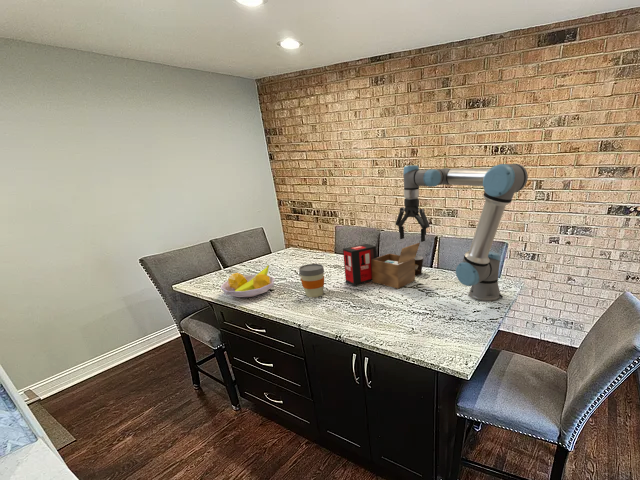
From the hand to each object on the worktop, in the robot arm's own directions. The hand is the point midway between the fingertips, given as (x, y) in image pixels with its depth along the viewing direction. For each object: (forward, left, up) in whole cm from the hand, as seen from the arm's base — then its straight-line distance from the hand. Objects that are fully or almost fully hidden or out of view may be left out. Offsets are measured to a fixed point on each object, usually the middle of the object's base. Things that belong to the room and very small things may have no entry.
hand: (412, 240), depth 178 cm
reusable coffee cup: (+35, +40, -26) cm, 60 cm away
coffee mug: (+12, -19, -26) cm, 35 cm away
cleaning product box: (+29, +10, -26) cm, 41 cm away
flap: (+3, 0, -7) cm, 8 cm away
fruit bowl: (+66, +58, -26) cm, 92 cm away
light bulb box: (+14, 0, -26) cm, 29 cm away
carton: (+13, 0, -26) cm, 29 cm away
